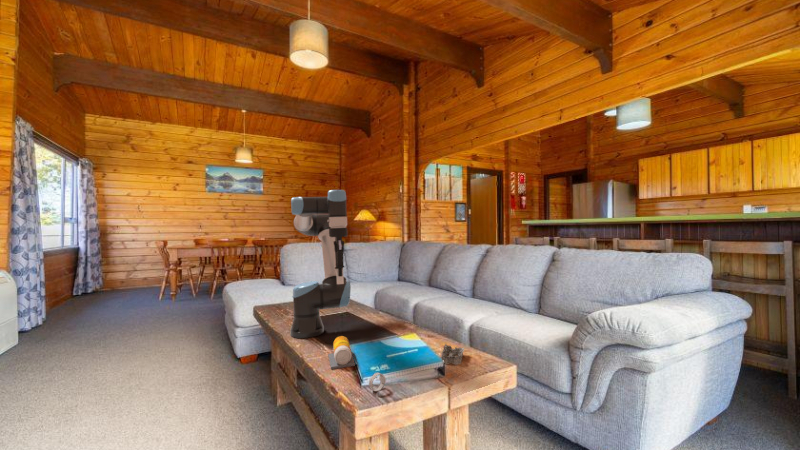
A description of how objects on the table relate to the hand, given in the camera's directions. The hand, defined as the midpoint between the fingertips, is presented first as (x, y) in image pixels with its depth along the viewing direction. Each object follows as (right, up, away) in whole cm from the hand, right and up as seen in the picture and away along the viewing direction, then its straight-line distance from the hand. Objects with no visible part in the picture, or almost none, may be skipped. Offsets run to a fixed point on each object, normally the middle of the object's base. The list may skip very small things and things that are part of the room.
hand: (340, 283), depth 149 cm
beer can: (+2, -22, -8) cm, 24 cm away
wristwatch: (+18, -26, -41) cm, 51 cm away
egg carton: (+44, -25, -19) cm, 54 cm away
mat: (+3, -26, -17) cm, 31 cm away
